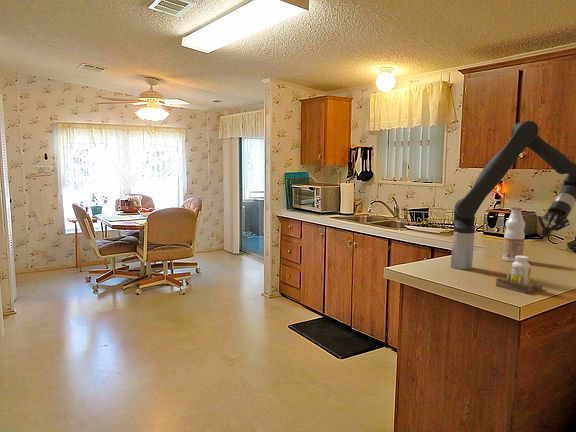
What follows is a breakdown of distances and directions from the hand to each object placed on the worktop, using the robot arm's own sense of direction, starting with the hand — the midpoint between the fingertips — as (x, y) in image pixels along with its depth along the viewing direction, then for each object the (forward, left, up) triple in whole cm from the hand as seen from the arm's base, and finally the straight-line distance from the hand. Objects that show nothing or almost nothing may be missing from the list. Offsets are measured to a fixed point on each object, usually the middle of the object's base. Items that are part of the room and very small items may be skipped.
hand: (544, 235), depth 176 cm
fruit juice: (-10, +41, -20) cm, 47 cm away
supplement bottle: (-8, -15, -20) cm, 27 cm away
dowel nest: (-8, -15, -20) cm, 26 cm away
